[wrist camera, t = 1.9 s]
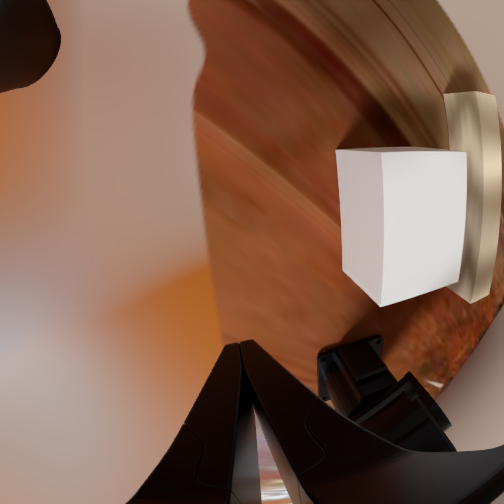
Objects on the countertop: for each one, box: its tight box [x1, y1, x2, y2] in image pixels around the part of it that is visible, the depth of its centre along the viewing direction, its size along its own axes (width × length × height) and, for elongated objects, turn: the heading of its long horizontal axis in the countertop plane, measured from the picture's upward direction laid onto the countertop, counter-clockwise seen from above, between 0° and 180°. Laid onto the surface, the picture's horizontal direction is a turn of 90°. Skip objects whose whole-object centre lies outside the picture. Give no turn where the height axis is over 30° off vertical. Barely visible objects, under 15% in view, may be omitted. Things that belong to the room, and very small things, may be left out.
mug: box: [0, 0, 61, 93], centre depth 8 cm, size 8×12×10 cm
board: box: [443, 91, 502, 304], centre depth 19 cm, size 18×3×4 cm, turn 9°
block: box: [336, 147, 467, 307], centre depth 18 cm, size 9×7×6 cm
